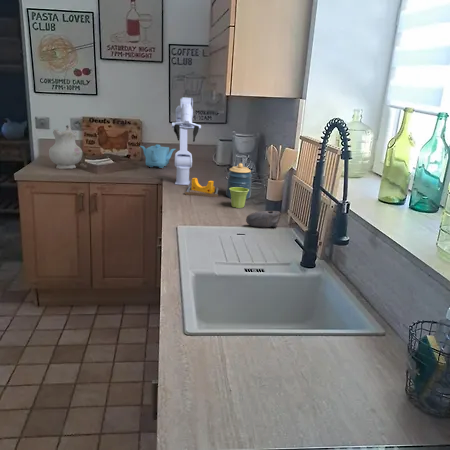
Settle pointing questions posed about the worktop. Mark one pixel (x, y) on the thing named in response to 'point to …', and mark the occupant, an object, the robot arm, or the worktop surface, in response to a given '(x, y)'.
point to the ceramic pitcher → (65, 149)
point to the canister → (239, 179)
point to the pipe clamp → (206, 189)
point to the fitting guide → (201, 193)
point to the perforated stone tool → (264, 218)
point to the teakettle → (157, 155)
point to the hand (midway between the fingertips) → (186, 140)
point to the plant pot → (238, 196)
